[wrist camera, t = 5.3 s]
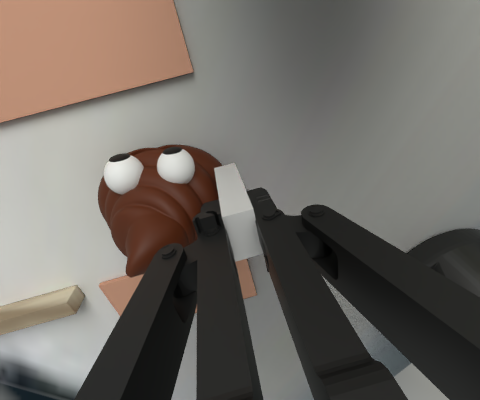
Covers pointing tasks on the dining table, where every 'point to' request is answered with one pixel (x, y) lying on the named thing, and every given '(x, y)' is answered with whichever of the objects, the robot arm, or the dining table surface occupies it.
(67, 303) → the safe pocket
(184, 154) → the poop emoji
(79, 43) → the pads
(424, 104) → the dining table surface
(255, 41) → the dining table surface
